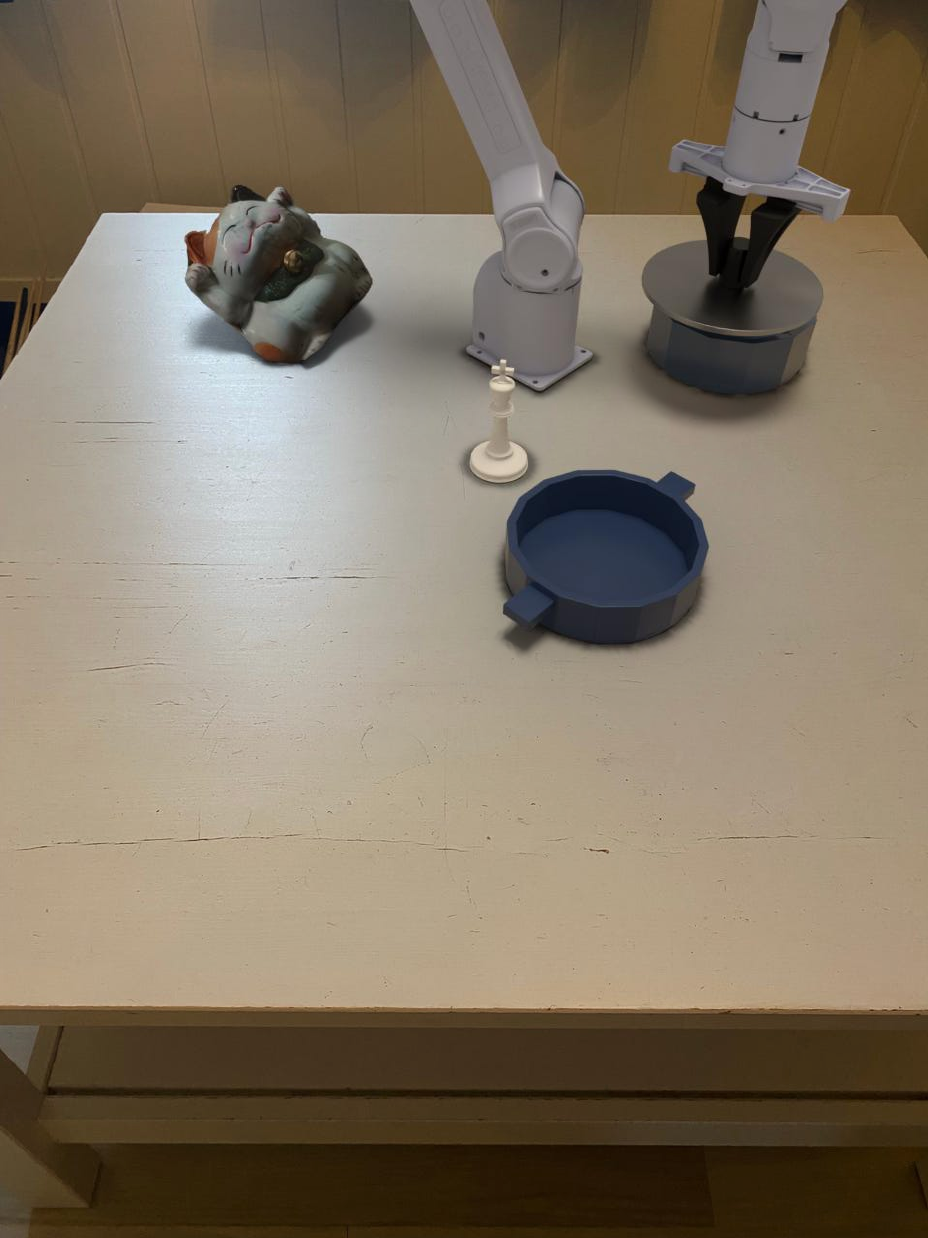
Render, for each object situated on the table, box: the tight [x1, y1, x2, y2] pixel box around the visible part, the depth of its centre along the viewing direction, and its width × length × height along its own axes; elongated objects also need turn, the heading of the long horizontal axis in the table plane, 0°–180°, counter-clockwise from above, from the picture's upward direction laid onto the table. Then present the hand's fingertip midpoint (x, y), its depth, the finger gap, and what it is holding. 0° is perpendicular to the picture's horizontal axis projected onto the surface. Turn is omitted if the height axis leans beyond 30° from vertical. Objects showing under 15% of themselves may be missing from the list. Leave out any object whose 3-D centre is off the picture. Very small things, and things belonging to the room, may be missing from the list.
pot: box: [645, 304, 818, 395], centre depth 89 cm, size 15×15×5 cm
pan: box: [502, 469, 710, 645], centre depth 70 cm, size 14×20×4 cm
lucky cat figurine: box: [183, 184, 374, 364], centre depth 89 cm, size 15×12×14 cm
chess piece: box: [469, 359, 529, 484], centre depth 76 cm, size 5×5×10 cm
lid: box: [640, 236, 824, 336], centre depth 80 cm, size 15×15×5 cm
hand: (732, 276), depth 81 cm, fingers closed on lid, 2 cm apart
